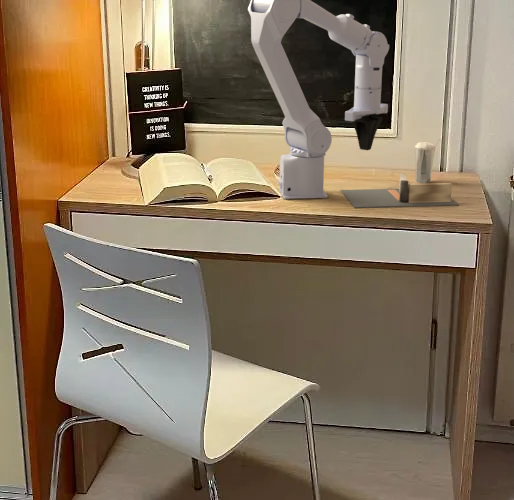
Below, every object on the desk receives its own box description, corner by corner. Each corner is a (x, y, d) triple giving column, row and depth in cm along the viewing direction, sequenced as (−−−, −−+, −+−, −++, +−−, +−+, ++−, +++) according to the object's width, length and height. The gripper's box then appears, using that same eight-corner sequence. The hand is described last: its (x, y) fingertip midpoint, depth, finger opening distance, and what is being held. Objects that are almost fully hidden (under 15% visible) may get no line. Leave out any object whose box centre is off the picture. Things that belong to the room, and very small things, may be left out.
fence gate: (406, 198, 189) (407, 183, 188) (400, 198, 190) (401, 183, 189) (404, 187, 198) (405, 173, 197) (399, 187, 198) (399, 173, 197)
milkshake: (436, 184, 204) (439, 141, 201) (412, 183, 205) (415, 139, 202) (436, 180, 208) (439, 137, 205) (413, 178, 209) (415, 136, 206)
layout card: (354, 208, 185) (354, 206, 185) (340, 191, 198) (341, 189, 198) (458, 205, 187) (458, 203, 187) (438, 189, 200) (438, 187, 200)
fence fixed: (400, 202, 188) (401, 182, 186) (398, 200, 189) (399, 180, 188) (450, 201, 189) (452, 181, 188) (448, 199, 191) (450, 179, 189)
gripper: (365, 92, 188) (363, 157, 192) (400, 85, 199) (397, 146, 203) (337, 89, 192) (335, 152, 196) (373, 82, 203) (370, 142, 207)
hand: (365, 149), depth 200 cm, fingers closed
